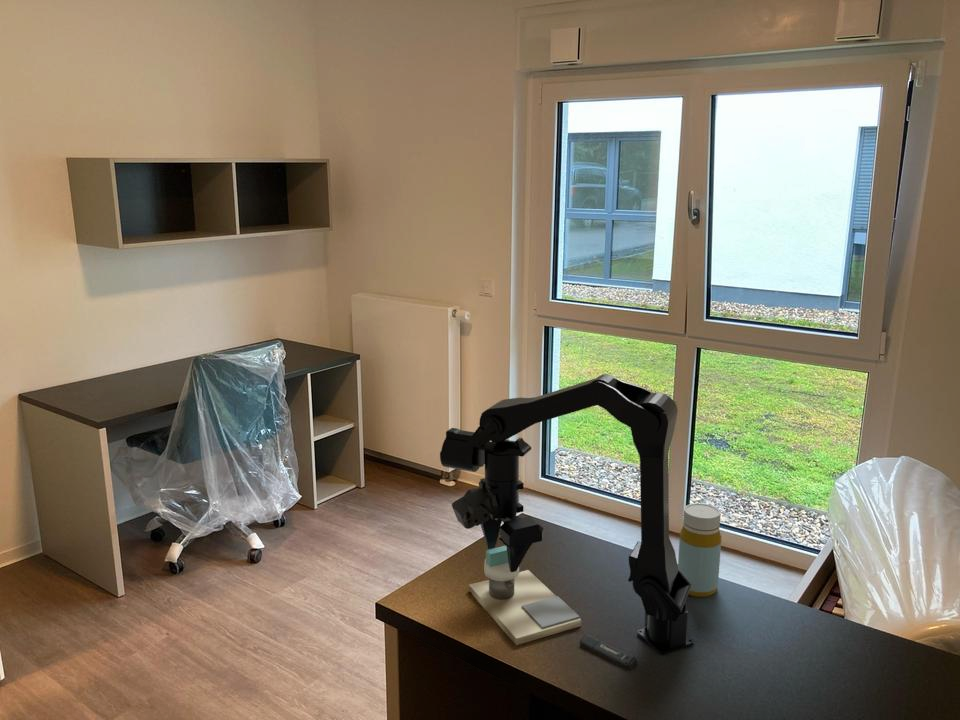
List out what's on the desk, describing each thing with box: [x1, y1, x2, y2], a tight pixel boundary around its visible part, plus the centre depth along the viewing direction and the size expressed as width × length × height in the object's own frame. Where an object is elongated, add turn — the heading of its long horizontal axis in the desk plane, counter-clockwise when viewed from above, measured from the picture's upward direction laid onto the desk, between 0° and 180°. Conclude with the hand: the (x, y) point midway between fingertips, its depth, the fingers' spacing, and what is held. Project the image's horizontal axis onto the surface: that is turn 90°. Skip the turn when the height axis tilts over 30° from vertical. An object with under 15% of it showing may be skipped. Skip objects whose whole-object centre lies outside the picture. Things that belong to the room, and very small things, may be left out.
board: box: [468, 569, 582, 646], centre depth 131 cm, size 18×12×5 cm, turn 25°
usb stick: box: [579, 634, 638, 670], centre depth 119 cm, size 10×3×2 cm, turn 47°
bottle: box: [677, 502, 722, 598], centre depth 136 cm, size 7×7×15 cm
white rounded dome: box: [483, 545, 520, 581], centre depth 133 cm, size 6×6×4 cm
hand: (501, 560), depth 133 cm, fingers open, 8 cm apart
